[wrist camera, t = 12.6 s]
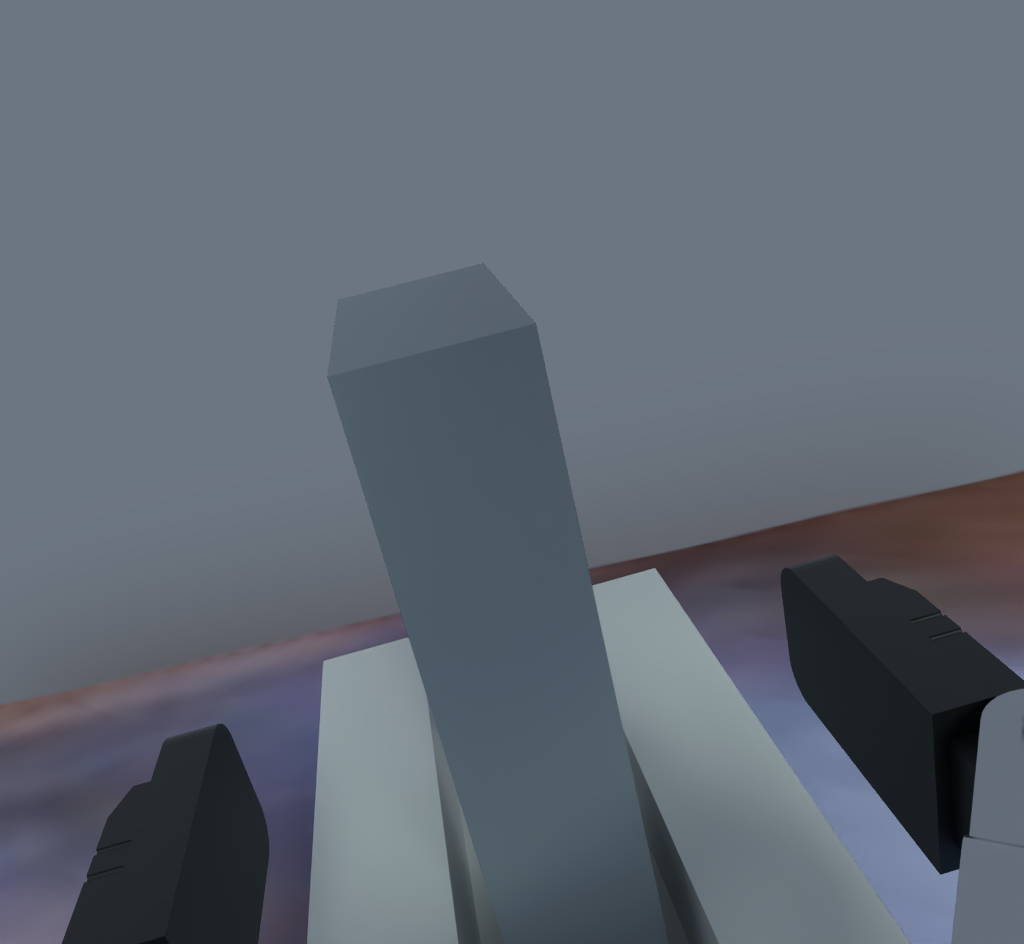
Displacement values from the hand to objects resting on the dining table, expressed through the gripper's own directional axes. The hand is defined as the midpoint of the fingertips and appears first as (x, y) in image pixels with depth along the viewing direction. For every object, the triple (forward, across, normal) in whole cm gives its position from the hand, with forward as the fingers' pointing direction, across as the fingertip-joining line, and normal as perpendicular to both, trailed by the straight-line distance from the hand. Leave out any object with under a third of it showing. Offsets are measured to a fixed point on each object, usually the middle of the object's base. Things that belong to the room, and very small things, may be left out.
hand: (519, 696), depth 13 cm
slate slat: (+5, 0, +10) cm, 11 cm away
